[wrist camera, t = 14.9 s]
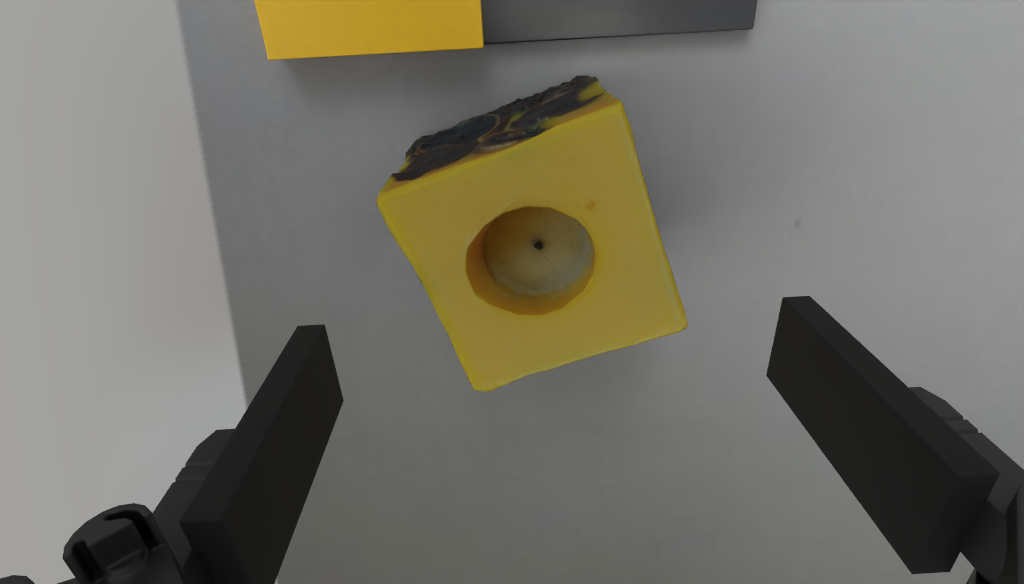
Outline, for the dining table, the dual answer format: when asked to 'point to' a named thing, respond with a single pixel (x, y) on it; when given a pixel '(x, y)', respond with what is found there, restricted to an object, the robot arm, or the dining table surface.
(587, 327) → the candle
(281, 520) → the robot arm
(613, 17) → the knife
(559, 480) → the dining table surface
